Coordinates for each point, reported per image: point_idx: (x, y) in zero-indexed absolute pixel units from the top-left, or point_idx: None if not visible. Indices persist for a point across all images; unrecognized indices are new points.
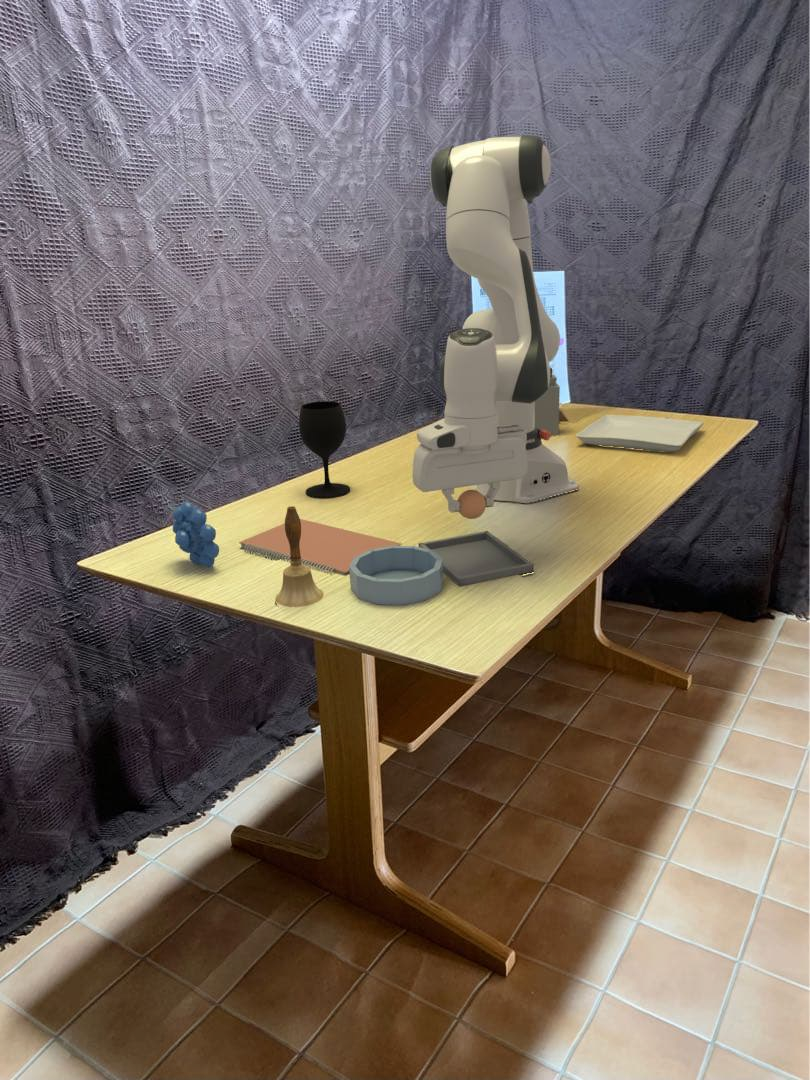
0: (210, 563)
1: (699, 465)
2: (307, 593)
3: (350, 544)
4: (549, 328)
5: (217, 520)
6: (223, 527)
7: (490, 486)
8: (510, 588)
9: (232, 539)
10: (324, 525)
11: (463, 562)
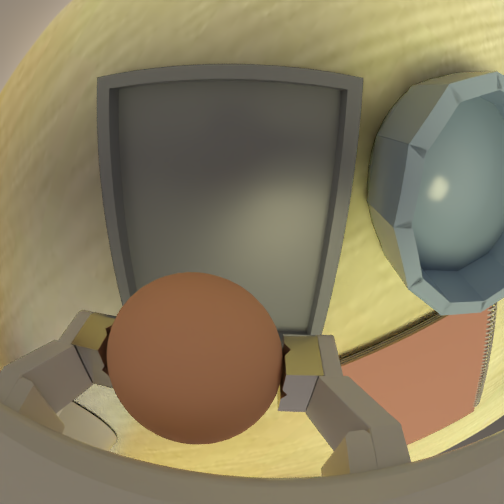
0: None
1: None
2: None
3: (405, 387)
4: None
5: (426, 454)
6: (436, 443)
7: (55, 409)
8: (216, 17)
9: (456, 423)
10: None
11: (259, 220)
